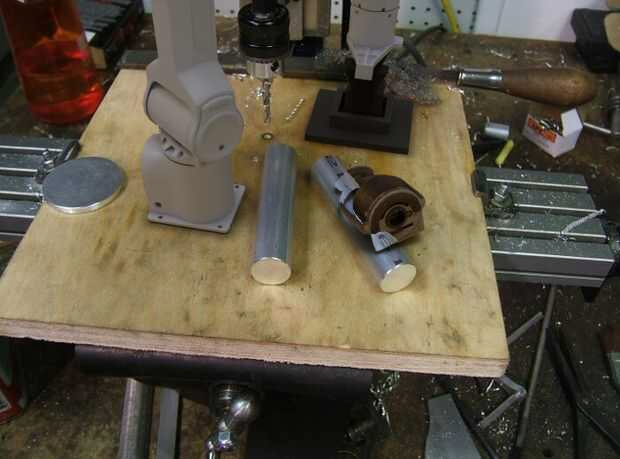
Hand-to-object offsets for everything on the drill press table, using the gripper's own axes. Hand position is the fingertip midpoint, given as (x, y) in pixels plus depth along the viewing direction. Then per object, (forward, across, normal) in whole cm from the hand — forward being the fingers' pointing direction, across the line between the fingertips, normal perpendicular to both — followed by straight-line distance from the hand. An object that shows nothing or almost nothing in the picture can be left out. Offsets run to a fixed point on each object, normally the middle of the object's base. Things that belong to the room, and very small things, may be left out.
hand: (363, 100), depth 77 cm
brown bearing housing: (+4, -18, -4) cm, 19 cm away
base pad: (+4, 0, 0) cm, 4 cm away
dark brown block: (+2, 0, 0) cm, 2 cm away
